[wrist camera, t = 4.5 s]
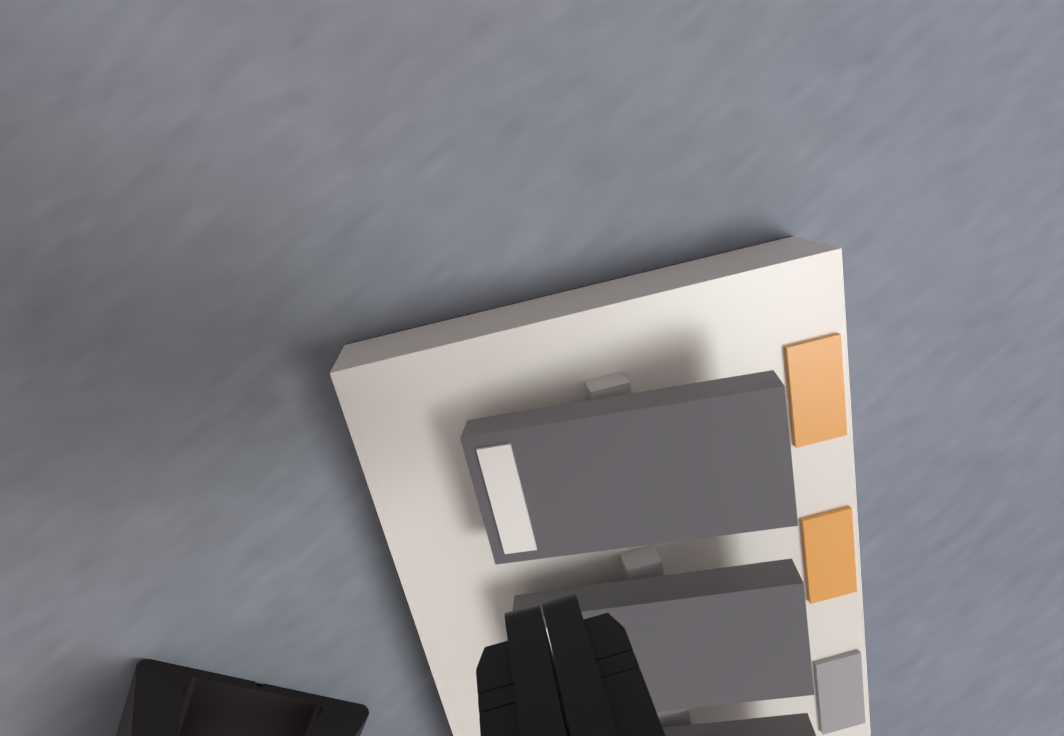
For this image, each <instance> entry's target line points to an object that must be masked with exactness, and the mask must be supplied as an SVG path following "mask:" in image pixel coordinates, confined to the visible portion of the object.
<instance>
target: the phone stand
mask: <svg viewBox="0 0 1064 736" xmlns="http://www.w3.org/2000/svg"><path fill="white" fill-rule="evenodd" d="M368 715H369V710H368V708H367V707H366V706H364V705H362V704H357V703H352V702H348V701H343V700H338V699H334V698H329V697H324V696H320V695H315V694H310V693H306V692H301V691H296V690H292V689H287V688H282V687H278V686H273V685H268V684H264V685H263V686H257V685H256V684H255V682H254V681H249V680H245V679H240V678H235V677H231V676H226V675H221V674H217V673H212V672H207V671H203V670H198V669H193V668H189V667H184V666H179V665H175V664H170V663H165V662H161V661H156V660H151V659H146V660H142V661H140V662H139V663H138V664H137V666H136V670H135V673H134V677H133V680H132V683H131V687H130V690H129V694H128V697H127V701H126V704H125V708H124V711H123V715H122V718H121V722H120V725H119V729H118V732H117V736H360V735H361V732H362V730H363V727H364V725H365V722H366V720H367V717H368Z"/></svg>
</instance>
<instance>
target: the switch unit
mask: <svg viewBox="0 0 1064 736" xmlns="http://www.w3.org/2000/svg"><path fill="white" fill-rule="evenodd" d="M770 370H774V371H775V373H776V374H777V376H778V377H779V379H780V380H781V381H782V383H783V384H784V386H785V393H786V403H787V414H788V424H789V435H790V445H791V456H792V466H793V477H794V487H795V498H796V508H797V519H798V526H793V527H785V528H777V529H769V530H761V531H754V532H746V533H738V534H730V535H723V536H715V537H707V538H699V539H691V540H684V541H676V542H668V543H660V544H652V545H645V546H637V547H629V548H621V549H613V550H606V551H598V552H590V553H582V554H575V555H567V556H559V557H551V558H543V559H536V560H528V561H520V562H512V563H504V564H497V565H495V561H494V558H493V554H492V551H491V547H490V543H489V540H488V536H487V533H486V529H485V526H484V522H483V518H482V515H481V511H480V508H479V504H478V501H477V497H476V493H475V490H474V486H473V483H472V479H471V476H470V472H469V468H468V465H467V461H466V458H465V454H464V451H463V447H462V443H461V440H460V437H461V434H462V432H463V430H464V427H465V425H466V422H467V420H472V419H478V418H484V417H490V416H496V415H502V414H508V413H514V412H520V411H526V410H533V409H539V408H545V407H551V406H557V405H563V404H569V403H575V402H581V401H587V400H593V399H600V398H606V397H612V396H618V395H624V394H630V393H636V392H642V391H648V390H654V389H660V388H667V387H673V386H679V385H685V384H691V383H697V382H703V381H709V380H715V379H721V378H728V377H734V376H740V375H746V374H752V373H758V372H764V371H770ZM330 375H331V378H332V381H333V384H334V387H335V390H336V393H337V396H338V399H339V402H340V405H341V408H342V411H343V414H344V416H345V419H346V422H347V425H348V428H349V431H350V434H351V437H352V440H353V443H354V446H355V449H356V452H357V455H358V458H359V460H360V463H361V466H362V469H363V472H364V475H365V478H366V481H367V484H368V487H369V490H370V493H371V496H372V499H373V502H374V505H375V507H376V510H377V513H378V516H379V519H380V522H381V525H382V528H383V531H384V534H385V537H386V540H387V543H388V546H389V549H390V551H391V554H392V557H393V560H394V563H395V566H396V569H397V572H398V575H399V578H400V581H401V584H402V587H403V590H404V593H405V595H406V598H407V601H408V604H409V607H410V610H411V613H412V616H413V619H414V622H415V625H416V628H417V631H418V634H419V637H420V639H421V642H422V645H423V648H424V651H425V654H426V657H427V660H428V663H429V666H430V669H431V672H432V675H433V678H434V681H435V683H436V686H437V689H438V692H439V695H440V698H441V701H442V704H443V707H444V710H445V713H446V716H447V719H448V722H449V725H450V728H451V730H452V733H453V736H481V735H480V721H479V717H480V715H479V707H478V693H477V679H476V668H477V666H478V663H479V660H480V658H481V655H482V653H483V650H484V648H485V647H487V646H490V645H494V644H497V643H501V642H505V641H508V639H507V631H506V624H505V616H504V614H505V613H507V612H511V611H512V610H513V603H514V596H515V595H521V594H529V593H536V592H544V591H551V590H559V589H566V588H574V587H581V586H589V585H596V584H604V583H611V582H619V581H626V580H634V579H641V578H649V577H656V576H664V575H671V574H679V573H686V572H694V571H701V570H709V569H716V568H724V567H731V566H739V565H746V564H754V563H761V562H769V561H776V560H784V559H791V558H792V560H793V562H794V564H795V566H796V568H797V570H798V572H799V574H800V576H801V579H802V581H803V583H804V591H805V602H806V612H807V623H808V633H809V644H810V654H811V665H812V675H813V686H814V695H809V696H799V697H790V698H781V699H771V700H762V701H752V702H743V703H733V704H724V705H714V706H705V707H695V708H686V709H677V710H667V711H658V712H657V715H658V717H659V720H660V723H661V725H662V728H663V727H673V726H683V725H693V724H702V723H712V722H722V721H732V720H741V719H751V718H761V717H771V716H780V715H790V714H800V713H808V716H809V718H810V721H811V723H812V726H813V729H814V731H815V734H816V736H871V732H870V715H869V699H868V682H867V665H866V649H865V632H864V615H863V599H862V582H861V565H860V549H859V532H858V515H857V499H856V482H855V465H854V449H853V432H852V415H851V399H850V382H849V365H848V349H847V332H846V315H845V299H844V282H843V265H842V249H841V248H839V247H835V246H831V245H827V244H823V243H819V242H815V241H811V240H807V239H803V238H799V237H795V236H792V237H788V238H784V239H780V240H776V241H771V242H767V243H763V244H759V245H755V246H751V247H747V248H743V249H738V250H734V251H730V252H726V253H722V254H718V255H714V256H710V257H705V258H701V259H697V260H693V261H689V262H685V263H681V264H677V265H672V266H668V267H664V268H660V269H656V270H652V271H648V272H644V273H640V274H635V275H631V276H627V277H623V278H619V279H615V280H611V281H607V282H602V283H598V284H594V285H590V286H586V287H582V288H578V289H574V290H569V291H565V292H561V293H557V294H553V295H549V296H545V297H541V298H536V299H532V300H528V301H524V302H520V303H516V304H512V305H508V306H503V307H499V308H495V309H491V310H487V311H483V312H479V313H475V314H470V315H466V316H462V317H458V318H454V319H450V320H446V321H442V322H437V323H433V324H429V325H425V326H421V327H417V328H413V329H409V330H404V331H400V332H396V333H392V334H388V335H384V336H380V337H376V338H371V339H367V340H363V341H359V342H355V343H351V344H347V345H344V347H343V349H342V351H341V353H340V355H339V356H338V358H337V360H336V362H335V364H334V366H333V368H332V370H331V372H330Z"/></svg>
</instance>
